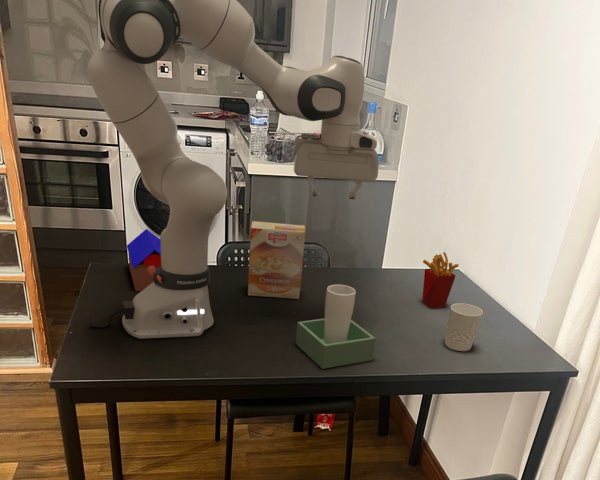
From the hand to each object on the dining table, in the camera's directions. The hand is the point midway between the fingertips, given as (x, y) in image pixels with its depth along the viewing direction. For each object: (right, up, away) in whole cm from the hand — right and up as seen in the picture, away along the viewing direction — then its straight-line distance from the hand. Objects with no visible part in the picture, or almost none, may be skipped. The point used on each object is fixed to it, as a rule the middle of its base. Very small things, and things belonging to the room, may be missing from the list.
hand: (332, 197), depth 147 cm
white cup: (+32, -36, +6) cm, 49 cm away
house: (-52, -14, +29) cm, 61 cm away
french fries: (+30, -21, +30) cm, 48 cm away
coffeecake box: (-16, -19, +27) cm, 36 cm away
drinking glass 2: (0, -38, -3) cm, 38 cm away
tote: (0, -38, -3) cm, 38 cm away
